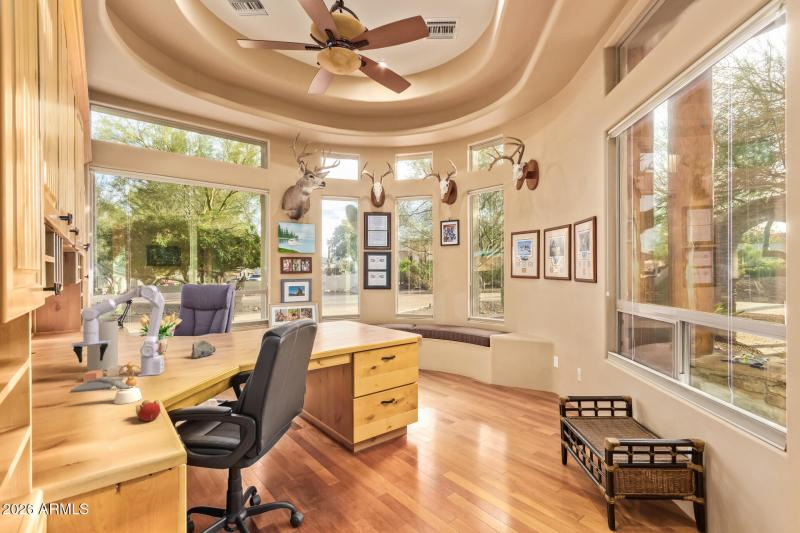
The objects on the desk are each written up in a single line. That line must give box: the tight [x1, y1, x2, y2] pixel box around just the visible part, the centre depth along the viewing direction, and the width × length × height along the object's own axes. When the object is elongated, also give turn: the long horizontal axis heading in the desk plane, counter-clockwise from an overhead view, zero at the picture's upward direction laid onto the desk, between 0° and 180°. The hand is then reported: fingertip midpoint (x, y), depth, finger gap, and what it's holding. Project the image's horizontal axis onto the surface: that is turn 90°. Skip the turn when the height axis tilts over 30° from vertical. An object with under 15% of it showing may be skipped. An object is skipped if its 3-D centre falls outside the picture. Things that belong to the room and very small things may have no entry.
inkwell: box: [88, 376, 143, 405], centre depth 146 cm, size 9×18×10 cm, turn 112°
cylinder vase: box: [86, 319, 119, 372], centre depth 196 cm, size 12×12×25 cm
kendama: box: [135, 399, 162, 422], centre depth 133 cm, size 8×6×18 cm
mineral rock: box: [190, 339, 217, 360], centre depth 223 cm, size 13×11×10 cm
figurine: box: [119, 360, 142, 387], centre depth 163 cm, size 8×6×12 cm
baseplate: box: [70, 377, 124, 393], centre depth 166 cm, size 14×14×1 cm
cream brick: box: [106, 364, 125, 377], centre depth 185 cm, size 5×6×4 cm
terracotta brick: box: [82, 370, 103, 383], centre depth 176 cm, size 5×6×4 cm
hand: (91, 361), depth 176 cm, fingers open, 7 cm apart
